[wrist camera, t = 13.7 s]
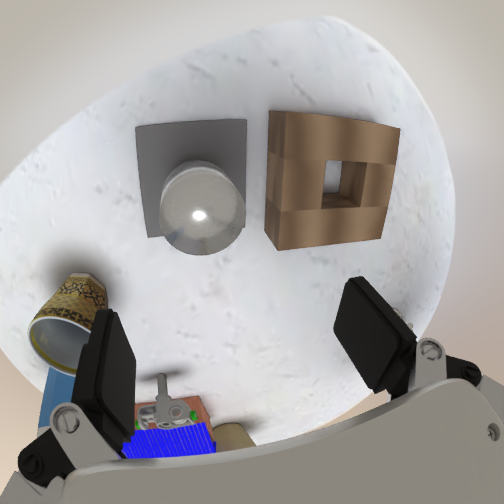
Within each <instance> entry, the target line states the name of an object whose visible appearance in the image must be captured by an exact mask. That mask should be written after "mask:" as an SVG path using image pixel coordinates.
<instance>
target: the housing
mask: <svg viewBox="0 0 504 504" xmlns="http://www.w3.org/2000/svg"><path fill="white" fill-rule="evenodd" d="M399 137H400V128H396V127H391V126H387V125H383V124H378V123H373V122H368V121H362V120H356V119H350V118H343V117H336V116H328V115H319V114H309V113H298V112H284V111H269V131H268V158H267V183H266V207H265V229H264V231H265V233H266V234H267V236H268V237H269V239H270V240H271V241H272V243H273V244H274V246H275V247H276V249H277V250H278V251H281V250H290V249H298V248H307V247H315V246H324V245H332V244H341V243H349V242H357V241H366V240H374V239H381V235H382V231H383V227H384V223H385V218H386V214H387V209H388V204H389V199H390V194H391V189H392V184H393V178H394V172H395V166H396V160H397V153H398V145H399ZM326 160H336V161H343V163H342V172H341V180H340V187H339V193H324V194H323V185H324V176H325V166H326Z"/></svg>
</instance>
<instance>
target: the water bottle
mask: <svg viewBox="0 0 504 504" xmlns="http://www.w3.org/2000/svg"><path fill="white" fill-rule="evenodd" d="M74 381H75V377H74V376H70V375H67V374H64V373H61V372H59V371H57V370H55V369H54V368H52V367H50V368H49V372H48V376H47V381H46V385H45V390H44V395H43V400H42V405H41V411H40V418H39V424H38V432H37V438H38V437H39V436H40V435H42V434H43V433H44V432H45V431H47V430H48V429H49V428H50V421H49V419H50V415H51V412H52V411H53V409H54V408H55V407H56V406H57V405H59V404H61V403H66V402H69V403H71V398H72V392H73V386H74Z"/></svg>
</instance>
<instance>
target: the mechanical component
mask: <svg viewBox="0 0 504 504" xmlns="http://www.w3.org/2000/svg"><path fill="white" fill-rule="evenodd" d="M157 379H158V395H157V396H156V400H157V403H156V404H150V405H144V406H141V407H140V408H139V409H138V411H137V420H136V421H135V426H136V428H137V429H142V430H148V428H149V423H152V422H155V423H156V426H157V427H158V428H160V429H173V428H178V427H183V426H189V425H194V424H195V421H194V420H198V415H197V413H196V411H195V410H193V411H192V410H191V408H190V407H189V406H188V405H187V404H186V403H185V401H183V400H181V399H177V400H172V401H171V397H170V396H169V395H168V392H167V380H166V377H165V375H164V374H158V376H157ZM179 413H180V415H179V416H177V414H179ZM176 416H177V417H176ZM150 418H152V419H150Z"/></svg>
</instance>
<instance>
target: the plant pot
mask: <svg viewBox="0 0 504 504" xmlns="http://www.w3.org/2000/svg"><path fill="white" fill-rule="evenodd" d="M213 436H214V440H215V441H216V453H219V452H226V451H232V450H238V449H243V448H249V447H254V446H256V445H255V443H254V442H253V440H252V439H251V438H250V436H249V435H248V434H247V432H246V431H245V430H244V429H243V427H242V426H241V425H239V424H236V423H229V424H223V425H220V426H218V427H216V428H215V429H214V430H213Z"/></svg>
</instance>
